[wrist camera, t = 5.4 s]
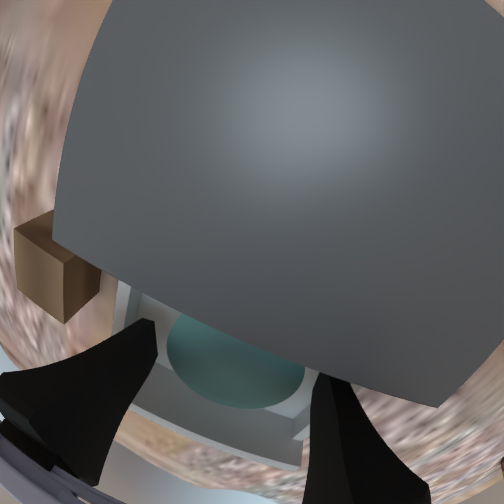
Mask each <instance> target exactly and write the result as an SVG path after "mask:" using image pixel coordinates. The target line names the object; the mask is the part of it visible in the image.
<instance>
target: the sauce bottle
mask: <svg viewBox="0 0 504 504" xmlns="http://www.w3.org/2000/svg"><path fill="white" fill-rule="evenodd" d="M501 467H502V471H503V473H502V474H503V477H504V459H503V461H502V463H501Z"/></svg>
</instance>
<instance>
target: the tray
mask: <svg viewBox="0 0 504 504" xmlns="http://www.w3.org/2000/svg"><path fill="white" fill-rule="evenodd" d="M180 315H181V312H179V311H177V310H175V309H173V308H171V307H169V306H167V305H165V304H163V303H161V302H159V301H157V300H155V299H153V298H151V297H150V296H148V295H146V294H144V293H142V292H140V291H138V290H136V289H135V288H133V287H131V286H129V285H127V284H125V283H124V282H122V281H120V280H119V282H118V289H117V295H116V302H115V310H114V318H113V326H112V336H113V335H115V334H116V333H118V332H120V331H121V330H123V329H125V328H126V327H128V326H129V325H131V324H133V323H134V322H136V321H137V320H139V319H141V318H145V319H149V320H152V321H155V330H156V340H157V349H158V357H157V359H156V361H155V363H154V366H153V368H152V370H151V372H150V374H149V376H148V377H147V379H146V381H145V382H144V384H143V385H142V387H141V389H140V390H139V392H138V393H137V395H136V397H135V398H134V400H133V401H132V403H131V404H130V406H129V408H128V409H130V410H131V411H133V412H135V413H137V414H139V415H141V416H143V417H145V418H147V419H149V420H151V421H153V422H155V423H157V424H159V425H161V426H163V427H165V428H167V429H170V430H172V431H174V432H176V433H178V434H181V435H183V436H185V437H188V438H190V439H193V440H195V441H197V442H200V443H202V444H205V445H208V446H210V447H213V448H216V449H218V450H221V451H224V452H227V453H230V454H233V455H236V456H239V457H242V458H245V459H248V460H251V461H255V462H258V463H261V464H265V465H269V466H272V467H276V468H280V469H284V470H288V471H293V472H294V471H295V470H297V469H298V468H300V467H301V460H302V450H303V440H304V439H305V438H307V437H308V436H309V435H310V406H311V397H312V389H313V387H314V384H315V382H316V379H317V377H318V374H319V372H318V371H316V370H313V369H310V368H308V367H305V374H304V378H303V381H302V383H301V385H300V387H299V388H298V390H297V391H296V392H295V393H294V394H293V395H292V396H291V397H289V398H288V399H286V400H285V401H283V402H281V403H278V404H276V405H273V406H270V407H265V408H258V409H241V408H234V407H229V406H225V405H221V404H218V403H215V402H213V401H211V400H208V399H206V398H204V397H202V396H201V395H199V394H198V393H196V392H194V391H193V390H192V389H190V388H189V387H188V386H187V385H186V384H185V383H184V382H183V381H182V380H181V379H180V378H179V377H178V376H177V374H176V373H175V371H174V370H173V368H172V366H171V364H170V362H169V359H168V355H167V348H166V345H167V338H168V335H169V333H170V331H171V329H172V327H173V326H174V324H175V323H176V321H177V319H178V318H179V316H180ZM350 384H351V386H352V388H353V391H354V393H355V394H356V393H358V392H359V391H360V390H361V389H362V388H363V387H362V386H359V385H356V384H353V383H350Z"/></svg>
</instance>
